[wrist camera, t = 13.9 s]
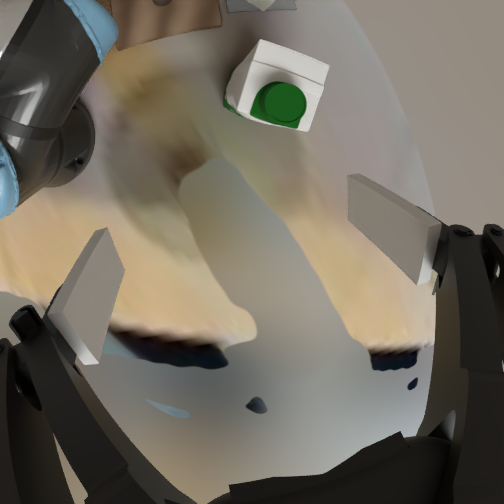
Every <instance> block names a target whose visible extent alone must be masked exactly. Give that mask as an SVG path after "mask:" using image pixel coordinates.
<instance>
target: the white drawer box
mask: <svg viewBox="0 0 504 504" xmlns="http://www.w3.org/2000/svg"><path fill="white" fill-rule="evenodd" d="M246 1H248V2H249V3H251V4H253V5H254V6H256V7H257V8H259V9H261V10H262V11H265V10H266V9H267V8H268V7H269V6H270V5H271V4H272V3H273V2H274V1H275V0H246Z"/></svg>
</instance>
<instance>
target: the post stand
mask: <svg viewBox="0 0 504 504" xmlns="http://www.w3.org/2000/svg"><path fill="white" fill-rule="evenodd" d="M111 5H112V16H113V18H114V20H115V21H116V23H117V25H118V30H119V31H118V38H117V40H116V48H117V50H118V51H121V50H124V49H127V48H130V47H133V46H136V45H139V44H143V43H146V42H150V41H153V40H157V39H161V38H165V37H169V36H173V35H177V34H182V33H187V32H192V31H197V30H203V29H209V28H216V27H221V25H222V23H221V18H220V12H219V6H218V1H217V0H111Z"/></svg>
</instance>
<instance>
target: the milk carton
mask: <svg viewBox="0 0 504 504" xmlns="http://www.w3.org/2000/svg"><path fill="white" fill-rule="evenodd" d="M328 69H329V65H328V64H325V63H323V62H321V61H319V60H316V59H314V58H312V57H309V56H307V55H304V54H302V53H299V52H297V51H294V50H291V49H289V48H286V47H283V46H280V45H277V44H274V43H271V42H268V41H265V40H262V39H260V40H259V41H258V43H257V44H256V45H255V46H254V48H253V49H252V50H251V51H250V53H249V54H248V55H247V57H246V58H245V59H244V60H243V62H242V63H240V64H239V65H238V66H236V68H235V69H234V70H233V71H232V73H231V75H230V78H229V81H228V84H227V87H226V91H225V96H224V107H225V108H227V109H228V110H230V111H232V112H233V113H235V114H237V115H239V116H241V117H244V118H247V119H250V120H254V121H258V122H261V123H265V124H270V125H275V126H281V127H286V128H292V129H297V130H302V131H306V132H307V131H309V128H310V125H311V122H312V120H313V117H314V114H315V111H316V108H317V105H318V102H319V99H320V96H321V95H322V92H323V89H324V86H323V84H324V81H325V78H326V75H327V72H328Z"/></svg>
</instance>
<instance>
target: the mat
mask: <svg viewBox="0 0 504 504" xmlns="http://www.w3.org/2000/svg"><path fill="white" fill-rule="evenodd" d="M226 3H227V9H228V13H232V12H243V11H257V10H261V9H259V8H257V7H256V6H254V5H253V4H251V3H249V2H248V1H246V0H226ZM266 10H296V4H295V0H275V1H274V2H273V3H272V4H271V5H270V6H269V7H268V8H267V9H266Z"/></svg>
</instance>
